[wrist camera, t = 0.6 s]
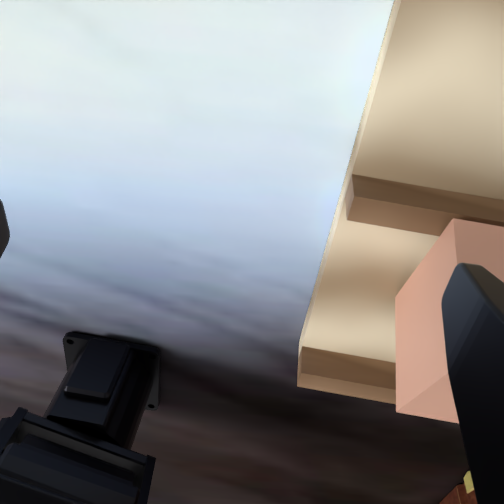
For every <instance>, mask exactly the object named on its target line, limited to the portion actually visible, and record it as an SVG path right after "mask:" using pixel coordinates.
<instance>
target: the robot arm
mask: <svg viewBox="0 0 504 504" xmlns="http://www.w3.org/2000/svg"><path fill="white" fill-rule="evenodd" d="M9 237H10V232H9V227H8V223H7V219H6V214H5V210H4V206H3V203H2V201H1V199H0V258H1V256H2V254H3V252H4V250H5V248H6V246H7V244H8V242H9ZM441 308H442V319H443V329H444V339H445V350H446V360H447V368H448V375H449V380H450V385H451V390H452V394H453V398H454V403H455V407H456V412H457V416H458V420H459V425H460V429H461V434H462V438H463V442H464V447H465V451H466V456H467V460H468V465H469V469H470V473H471V478H472V482H473V487H474V491H475V495H476V500H477V504H504V282H502V281H501V280H500V279H498V278H497V277H496V276H495V275H493V274H492V273H491V272H489V271H488V270H487V269H485V268H484V267H483V266H481V265H478V264H470V263H463V262H462V263H459V264H457V265H456V267H455V268H454V270H453V273H452V275H451V277H450V279H449V282H448V284H447V286H446V289H445V291H444V293H443V296H442V301H441ZM63 345H64V351H65V358H66V364H67V373H66V375H65V377H64V379H63V381H62V382H61V384H60V386H59V388H58V390H57V392H56V394H55V395H54V397H53V399H52V401H51V403H50V405H49V407H48V408H47V410H46V412H45V414H44V416H43V417H41V416H38V415H35V414H33V413H30V412H28V410H27V409H24V408H22V407H19V408H18V409H17V411H16V412H15V414H14V415H13V416H12V417H8V418H2V419H1V421H0V504H147V500H148V495H149V490H150V485H151V480H152V475H153V470H154V465H155V460H156V458H155V457H152V456H149V455H147V456H145V455H142V454H140V453H137V452H134V451H132V450H131V447H132V444H133V441H134V438H135V435H136V433H137V430H138V427H139V424H140V421H141V418H142V415H143V412H144V409H147V410H157V409H158V406H159V403H160V362H161V352H160V350H159V349H157V348H155V347H151V346H145V345H140V344H134V343H129V342H123V341H118V340H112V339H106V338H101V337H95V336H90V335H84V334H79V333H73V332H68V333H66V335H65V336H64V338H63Z"/></svg>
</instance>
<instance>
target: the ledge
mask: <svg viewBox="0 0 504 504" xmlns="http://www.w3.org/2000/svg"><path fill="white" fill-rule="evenodd" d="M453 218H455V219H461V220H466V221H472V222H478V223H484V224H489V225H495V226H501V227H504V0H394V3H393V7H392V10H391V14H390V17H389V21H388V25H387V28H386V32H385V35H384V39H383V43H382V46H381V50H380V53H379V57H378V61H377V64H376V68H375V71H374V75H373V78H372V82H371V86H370V89H369V93H368V96H367V100H366V104H365V107H364V111H363V114H362V118H361V122H360V125H359V129H358V132H357V136H356V139H355V143H354V147H353V150H352V154H351V157H350V161H349V165H348V168H347V172H346V175H345V179H344V182H343V186H342V190H341V193H340V197H339V200H338V204H337V208H336V211H335V215H334V218H333V222H332V226H331V229H330V233H329V236H328V240H327V243H326V247H325V251H324V254H323V258H322V261H321V265H320V269H319V272H318V276H317V279H316V283H315V287H314V290H313V294H312V297H311V301H310V304H309V308H308V312H307V315H306V319H305V322H304V326H303V330H302V333H301V337H300V340H299V357H298V377H297V386H298V387H303V388H309V389H314V390H320V391H325V392H331V393H336V394H342V395H348V396H353V397H359V398H364V399H370V400H375V401H381V402H386V403H392V404H396V338H395V297H396V295H397V294H398V292H399V291H400V290H401V288H402V287H403V286H404V284H405V283H406V282H407V280H408V279H409V277H410V276H411V275H412V273H413V272H414V271H415V269H416V268H417V267H418V265H419V264H420V262H421V261H422V260H423V258H424V257H425V256H426V254H427V253H428V252H429V250H430V249H431V247H432V246H433V245H434V243H435V242H436V241H437V239H438V238H439V237H440V235H441V234H442V232H443V231H444V230H445V228H446V227H447V226H448V224H449V223H450V222H451V220H452V219H453Z"/></svg>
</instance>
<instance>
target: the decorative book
mask: <svg viewBox="0 0 504 504" xmlns="http://www.w3.org/2000/svg"><path fill="white" fill-rule="evenodd" d="M439 504H477V500H476V495H475V491H474V487H473V482H472V478H471V473H470V471H467V473H466V475H465V477H464V483H463V484H459V485H457V486H456V487H455V488H454V489H453V490H452V491H451V492H450V493H449V494H448V495H447V496H446V497H445V498H444V499H443V500H442V501H441V502H440V503H439Z"/></svg>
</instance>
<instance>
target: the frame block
mask: <svg viewBox="0 0 504 504" xmlns="http://www.w3.org/2000/svg"><path fill="white" fill-rule="evenodd" d="M462 262H463V263H470V264H478V265H481V266H483V267H484V268H485V269H487V270H488V271H489V272H491V273H492V274H493V275H495V276H496V277H497V278H498V279H500V280H501V281H502V282H504V227H501V226H495V225H489V224H484V223H478V222H472V221H466V220H461V219H455V218H453V219H452V220H451V222H450V223H449V224H448V226H447V227H446V228H445V230H444V231H443V232H442V234H441V235H440V237H439V238H438V239H437V241H436V242H435V243H434V245H433V246H432V247H431V249H430V250H429V252H428V253H427V254H426V256H425V257H424V258H423V260H422V261H421V262H420V264H419V265H418V267H417V268H416V269H415V271H414V272H413V273H412V275H411V276H410V277H409V279H408V280H407V282H406V283H405V284H404V286H403V287H402V288H401V290H400V291H399V292H398V294H397V295H396V297H395V338H396V412H399V413H404V414H410V415H415V416H421V417H426V418H432V419H437V420H443V421H448V422H454V423H459V420H458V416H457V412H456V407H455V403H454V398H453V394H452V390H451V385H450V380H449V375H448V368H447V360H446V350H445V339H444V329H443V319H442V308H441V301H442V296H443V293H444V291H445V289H446V286H447V284H448V282H449V279H450V277H451V275H452V273H453V270H454V268H455V267H456V265H457V264H459V263H462Z"/></svg>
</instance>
